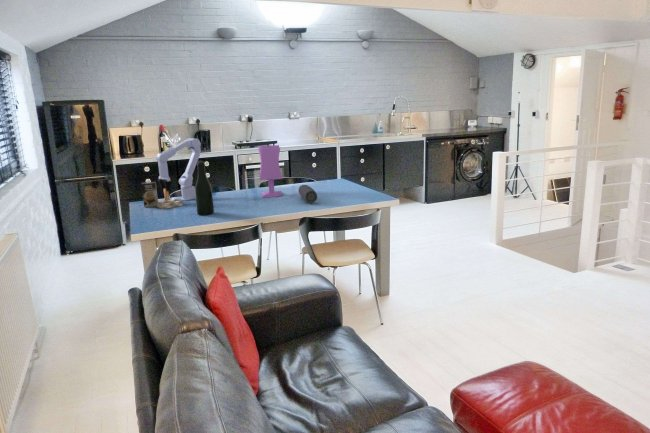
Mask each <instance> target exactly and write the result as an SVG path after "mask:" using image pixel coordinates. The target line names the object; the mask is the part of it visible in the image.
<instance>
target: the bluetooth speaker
mask: <svg viewBox="0 0 650 433" xmlns="http://www.w3.org/2000/svg"><path fill="white" fill-rule="evenodd" d="M298 195H299V196H300V197H301V198H302V199H303V200H304V201H305V202H306V203H308V204H312V203H315V202H316V201H317V200H318V194H317V192H316V190H315V189H314V188H312V187H311V186H309V185H307V184H301V185H300V186H299V187H298Z"/></svg>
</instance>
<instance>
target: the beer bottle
mask: <svg viewBox="0 0 650 433" xmlns="http://www.w3.org/2000/svg"><path fill="white" fill-rule="evenodd" d="M196 166H197V180H196V183H195V186H194V187H195V195H196V199H195V206H196V214H197V215H198V216H209V215H212V214H214V213H215V204H214V196H213V189H212V186H211V185H212V184H211V183H210V181H209V179H208V177H207V173H206V167H205V166H206V165H205V162H204V161H203V160H198V161H197V164H196Z"/></svg>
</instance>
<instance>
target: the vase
mask: <svg viewBox="0 0 650 433" xmlns="http://www.w3.org/2000/svg"><path fill="white" fill-rule="evenodd" d="M257 150H258V154H259V157H260V158H259V159H260V170H259V180H260V181H268V182H267V183H268V191H262V192H261V193H262V198H278V197H283V194H282V191H281V190H278V191H276V190H275V181H274V180H283V174H282V172H281V171H282V170H281V168H280V161H279V160H280V151H281V147H280V145H279V144H276V145H275V144H274V145H260V146H259V145H258V146H257Z"/></svg>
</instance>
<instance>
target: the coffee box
mask: <svg viewBox="0 0 650 433" xmlns="http://www.w3.org/2000/svg"><path fill="white" fill-rule="evenodd" d="M140 186H141V192H142V202H143V207H144V208H149V207H151V208H152V207H153V208H154V207H157V202H159V198H158V189H157V188H158V187H157V182H156V181H147V182H141V185H140Z"/></svg>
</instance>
